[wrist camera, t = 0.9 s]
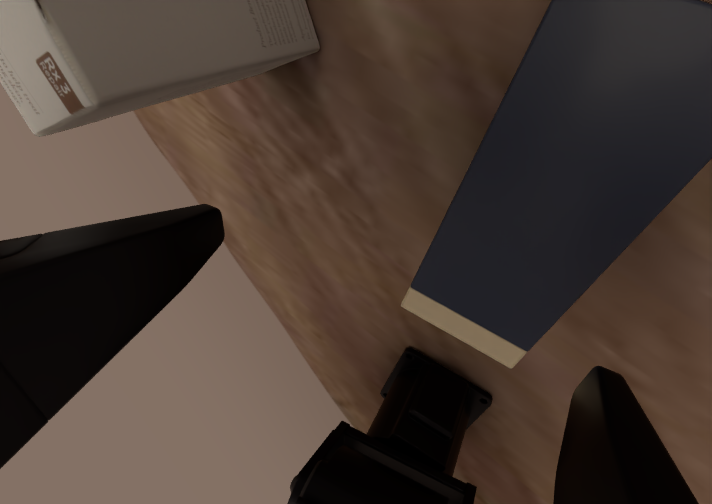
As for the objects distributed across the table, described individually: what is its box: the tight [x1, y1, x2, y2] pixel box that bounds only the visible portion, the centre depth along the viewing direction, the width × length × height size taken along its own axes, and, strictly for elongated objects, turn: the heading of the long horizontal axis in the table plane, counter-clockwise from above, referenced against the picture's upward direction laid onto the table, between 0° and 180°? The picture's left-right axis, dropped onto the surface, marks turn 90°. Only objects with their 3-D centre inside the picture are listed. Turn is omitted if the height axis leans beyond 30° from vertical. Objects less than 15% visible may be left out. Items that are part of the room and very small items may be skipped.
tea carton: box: [401, 0, 712, 368], centre depth 14 cm, size 12×5×6 cm, turn 164°
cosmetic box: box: [0, 0, 320, 137], centre depth 14 cm, size 6×4×12 cm
